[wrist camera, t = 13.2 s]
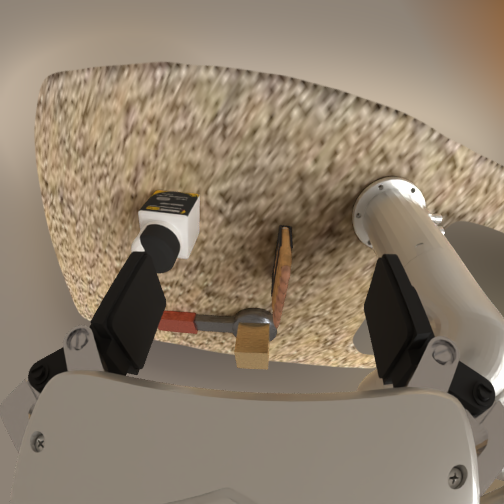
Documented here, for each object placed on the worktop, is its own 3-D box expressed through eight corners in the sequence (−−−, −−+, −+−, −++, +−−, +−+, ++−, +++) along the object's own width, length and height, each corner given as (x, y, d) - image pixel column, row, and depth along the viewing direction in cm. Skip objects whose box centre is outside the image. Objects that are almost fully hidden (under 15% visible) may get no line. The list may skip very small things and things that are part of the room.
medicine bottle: (200, 193, 40) (175, 238, 31) (199, 233, 44) (178, 284, 35) (156, 188, 40) (120, 231, 31) (159, 227, 44) (130, 275, 35)
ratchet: (277, 308, 54) (276, 333, 49) (276, 335, 59) (275, 358, 54) (153, 302, 56) (144, 324, 51) (164, 328, 61) (157, 349, 57)
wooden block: (269, 323, 53) (267, 353, 47) (269, 340, 56) (267, 369, 51) (238, 322, 53) (234, 352, 48) (241, 339, 57) (237, 367, 51)
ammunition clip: (279, 224, 42) (279, 277, 33) (291, 226, 42) (294, 279, 33) (271, 276, 49) (269, 331, 39) (282, 277, 49) (281, 332, 39)
